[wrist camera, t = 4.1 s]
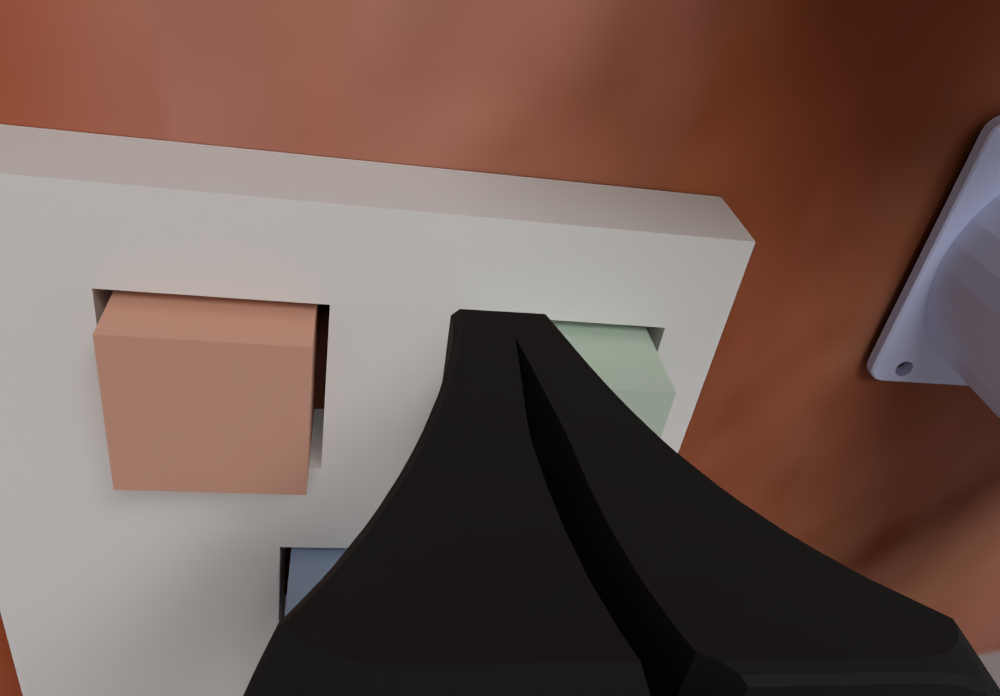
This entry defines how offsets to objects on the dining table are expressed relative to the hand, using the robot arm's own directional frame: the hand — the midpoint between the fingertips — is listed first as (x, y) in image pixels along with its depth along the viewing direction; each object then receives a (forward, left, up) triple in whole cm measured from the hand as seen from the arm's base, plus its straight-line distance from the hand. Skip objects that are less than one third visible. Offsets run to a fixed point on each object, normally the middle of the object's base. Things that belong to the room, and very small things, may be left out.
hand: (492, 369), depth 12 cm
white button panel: (+2, +10, -9) cm, 14 cm away
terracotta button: (+5, +6, -8) cm, 11 cm away
